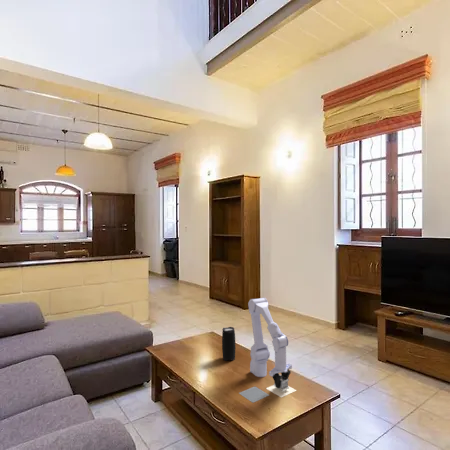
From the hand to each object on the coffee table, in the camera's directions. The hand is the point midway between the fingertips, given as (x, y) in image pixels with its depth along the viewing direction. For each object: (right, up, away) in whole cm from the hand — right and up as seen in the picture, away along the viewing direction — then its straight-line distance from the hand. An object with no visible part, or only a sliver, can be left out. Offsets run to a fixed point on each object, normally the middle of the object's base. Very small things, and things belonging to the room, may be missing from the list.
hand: (281, 386), depth 162 cm
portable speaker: (-26, -4, +42) cm, 49 cm away
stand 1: (-14, -3, -4) cm, 15 cm away
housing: (0, -1, 0) cm, 1 cm away
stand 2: (0, -3, 0) cm, 3 cm away
